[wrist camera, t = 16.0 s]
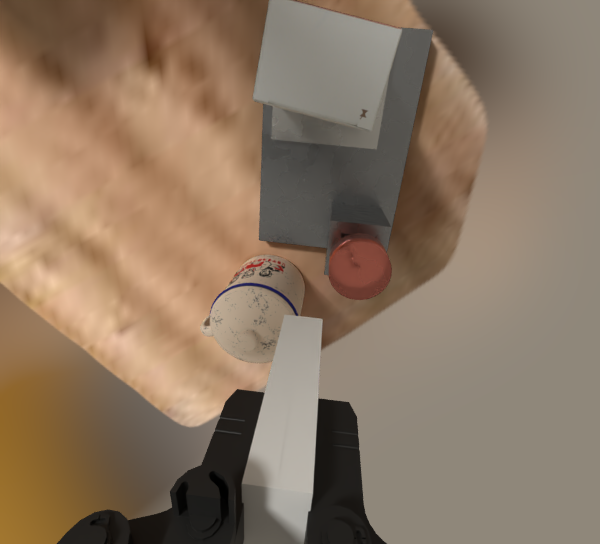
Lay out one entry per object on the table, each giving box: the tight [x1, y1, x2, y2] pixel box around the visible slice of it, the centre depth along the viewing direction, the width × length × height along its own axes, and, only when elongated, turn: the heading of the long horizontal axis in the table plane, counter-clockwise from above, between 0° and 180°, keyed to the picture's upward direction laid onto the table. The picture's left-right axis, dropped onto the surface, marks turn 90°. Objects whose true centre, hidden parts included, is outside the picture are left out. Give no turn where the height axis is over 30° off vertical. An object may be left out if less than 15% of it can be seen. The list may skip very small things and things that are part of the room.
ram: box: [329, 233, 392, 300], centre depth 29 cm, size 5×5×10 cm
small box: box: [253, 0, 402, 132], centre depth 24 cm, size 8×6×10 cm
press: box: [259, 27, 433, 275], centre depth 29 cm, size 20×14×8 cm
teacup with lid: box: [200, 255, 305, 363], centre depth 35 cm, size 12×9×12 cm
